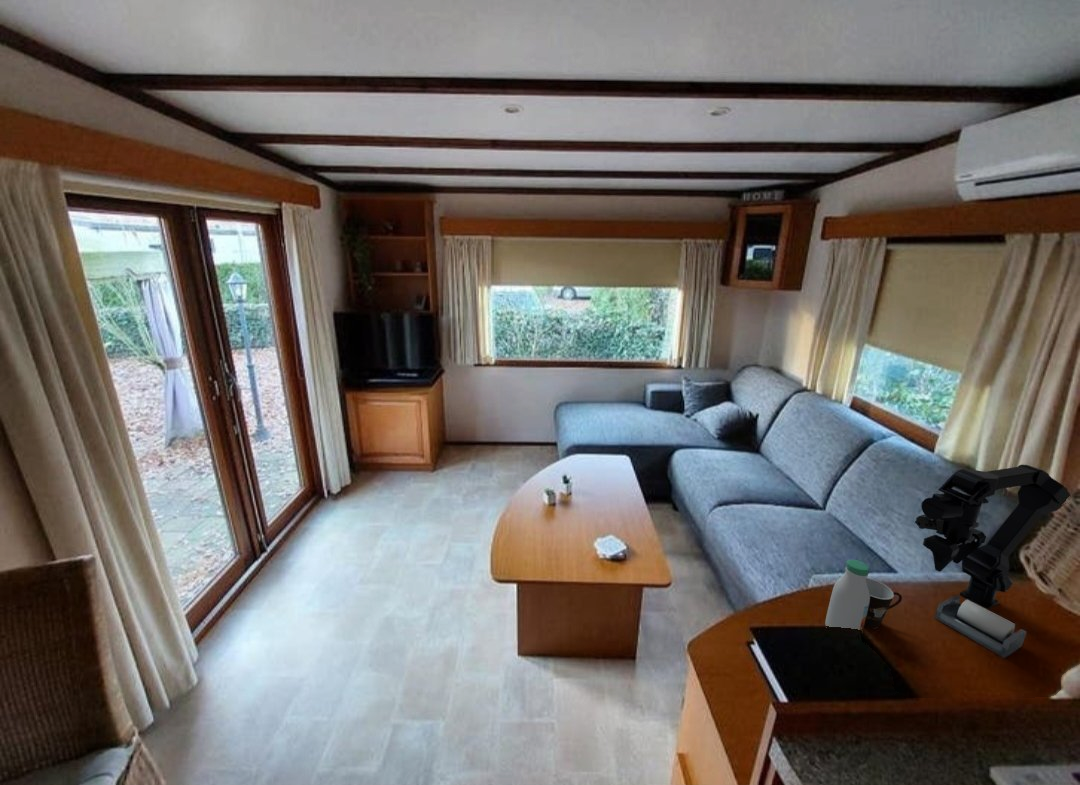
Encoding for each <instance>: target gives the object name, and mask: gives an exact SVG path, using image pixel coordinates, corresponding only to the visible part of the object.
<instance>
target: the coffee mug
mask: <svg viewBox="0 0 1080 785" xmlns="http://www.w3.org/2000/svg"><path fill="white" fill-rule="evenodd" d="M866 583H867V587H868V590H869V594H870V602H869V607H868V611H867V615H866V619H865V623H864V627H865V628H868V627H869V628H868V629H873V628H876V627H879V626H881V624H882V622H883V620H884V618H885V616H886V614H887V612H888V610H890V609H892V608H895V607H896V606H898V605H899V604H900V603H901V602H902V599H903V597H902V595H901V594H900V593H899V592H897V591H893V590H892V589H891V588H890V587H888V586H887V585H886V584H885V583H883V582H882V581H881V582H880V581H878V580H876V579H874V578H870V577H866ZM895 596H898V599H897V600H896V601H895V602H894V603H893V604H891V603H892V601H893V599H894V597H895ZM879 628H880V627H879ZM876 629H877V628H876Z"/></svg>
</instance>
